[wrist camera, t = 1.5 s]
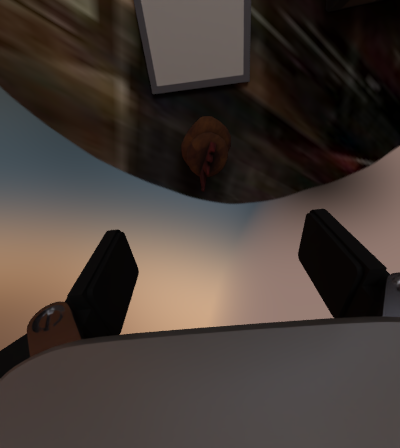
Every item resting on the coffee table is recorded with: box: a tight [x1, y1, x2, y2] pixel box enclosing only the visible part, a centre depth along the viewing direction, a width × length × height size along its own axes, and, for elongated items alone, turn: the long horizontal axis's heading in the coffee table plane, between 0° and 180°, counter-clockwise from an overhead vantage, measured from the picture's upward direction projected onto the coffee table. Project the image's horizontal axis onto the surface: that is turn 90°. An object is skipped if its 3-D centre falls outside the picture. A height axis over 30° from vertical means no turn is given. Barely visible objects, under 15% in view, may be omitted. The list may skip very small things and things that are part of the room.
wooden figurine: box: [181, 116, 231, 191], centre depth 25 cm, size 7×6×15 cm
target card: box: [134, 0, 251, 94], centre depth 24 cm, size 13×13×1 cm
